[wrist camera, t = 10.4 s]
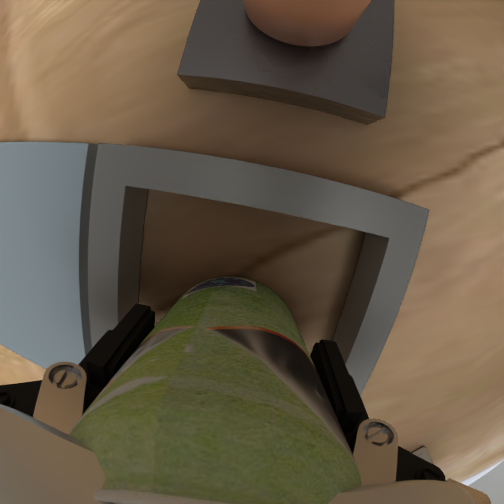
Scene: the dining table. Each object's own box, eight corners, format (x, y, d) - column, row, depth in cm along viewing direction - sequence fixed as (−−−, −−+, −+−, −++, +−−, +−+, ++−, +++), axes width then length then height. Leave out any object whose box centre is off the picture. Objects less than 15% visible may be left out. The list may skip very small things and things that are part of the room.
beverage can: (177, 369, 15) (105, 569, 3) (169, 237, 13) (-52, 437, 1) (292, 377, 15) (316, 594, 3) (309, 245, 13) (463, 518, 1)
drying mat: (-26, 144, 12) (-36, 144, 11) (99, 144, 12) (88, 143, 11) (-16, 324, 15) (-23, 329, 14) (97, 379, 15) (90, 388, 15)
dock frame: (125, 146, 12) (98, 142, 9) (402, 202, 12) (429, 209, 10) (117, 386, 16) (101, 412, 13) (319, 424, 16) (325, 453, 13)
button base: (228, -36, 9) (224, -58, 7) (380, -4, 9) (393, -22, 7) (189, 88, 11) (177, 74, 9) (367, 124, 11) (385, 117, 9)
